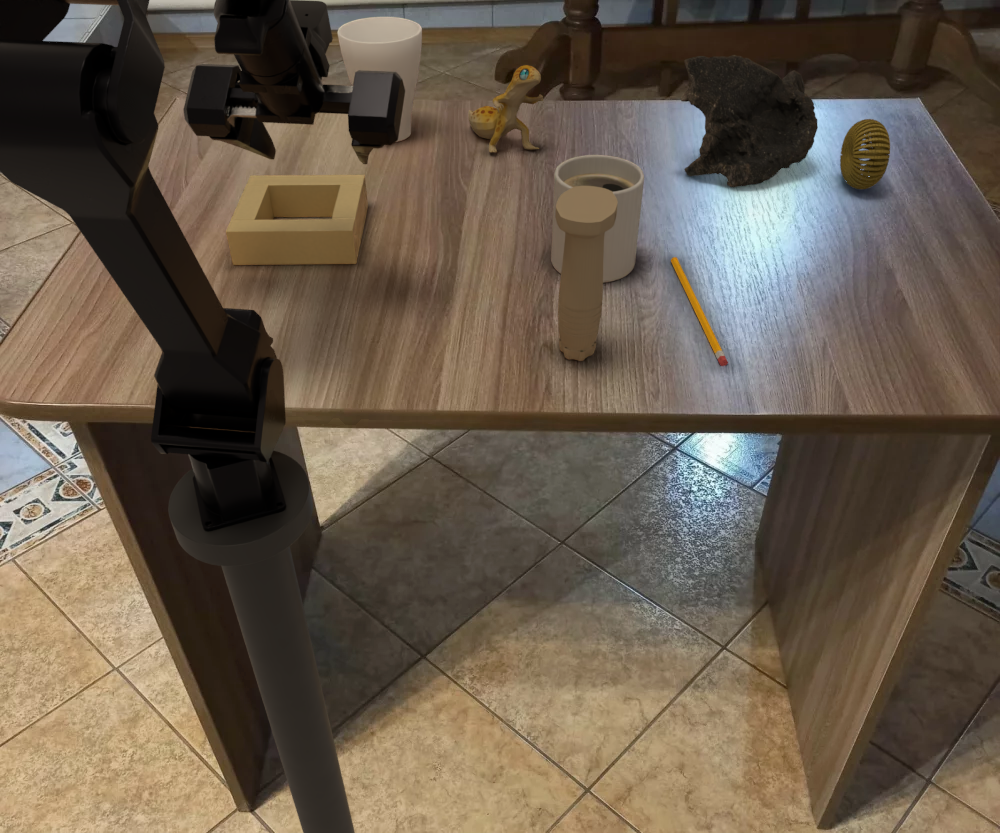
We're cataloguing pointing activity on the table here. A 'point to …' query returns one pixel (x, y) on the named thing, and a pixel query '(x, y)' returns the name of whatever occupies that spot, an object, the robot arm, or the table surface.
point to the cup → (385, 54)
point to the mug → (628, 191)
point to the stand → (298, 220)
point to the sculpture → (865, 154)
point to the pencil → (699, 312)
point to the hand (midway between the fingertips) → (319, 157)
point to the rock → (748, 119)
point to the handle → (582, 266)
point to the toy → (507, 109)
